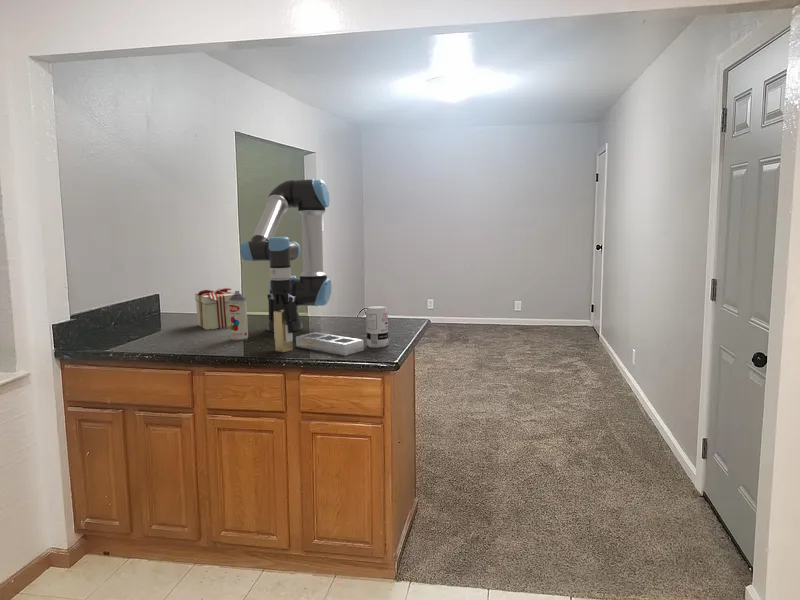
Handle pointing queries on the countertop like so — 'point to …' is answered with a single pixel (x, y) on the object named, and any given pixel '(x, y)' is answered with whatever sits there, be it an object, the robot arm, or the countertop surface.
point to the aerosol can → (238, 317)
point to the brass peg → (281, 332)
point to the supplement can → (377, 326)
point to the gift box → (213, 308)
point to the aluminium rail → (330, 343)
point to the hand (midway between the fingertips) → (283, 340)
